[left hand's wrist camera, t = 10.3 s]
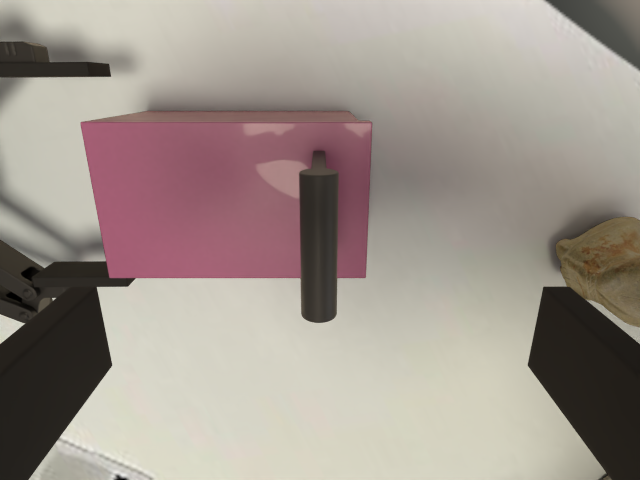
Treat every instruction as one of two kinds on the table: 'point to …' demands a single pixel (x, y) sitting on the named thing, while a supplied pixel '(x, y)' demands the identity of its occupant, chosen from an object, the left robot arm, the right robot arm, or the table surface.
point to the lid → (234, 201)
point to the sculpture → (606, 266)
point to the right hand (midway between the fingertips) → (119, 179)
